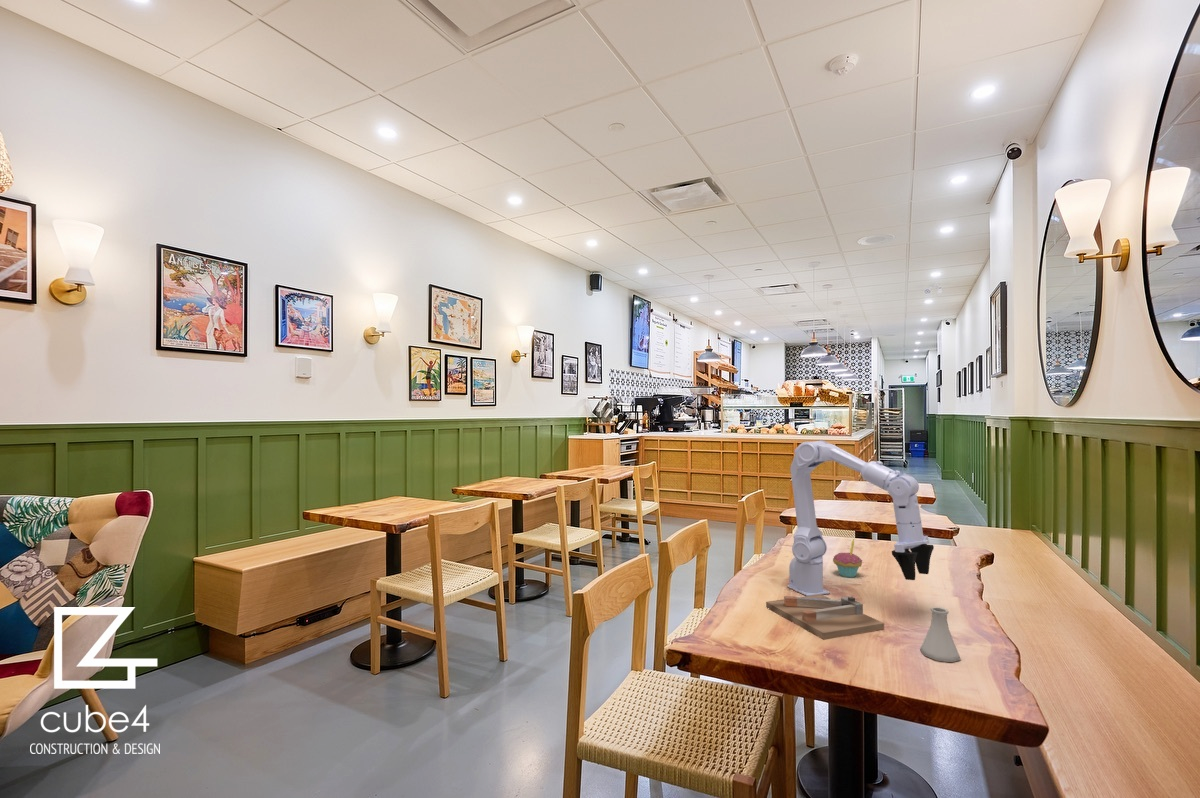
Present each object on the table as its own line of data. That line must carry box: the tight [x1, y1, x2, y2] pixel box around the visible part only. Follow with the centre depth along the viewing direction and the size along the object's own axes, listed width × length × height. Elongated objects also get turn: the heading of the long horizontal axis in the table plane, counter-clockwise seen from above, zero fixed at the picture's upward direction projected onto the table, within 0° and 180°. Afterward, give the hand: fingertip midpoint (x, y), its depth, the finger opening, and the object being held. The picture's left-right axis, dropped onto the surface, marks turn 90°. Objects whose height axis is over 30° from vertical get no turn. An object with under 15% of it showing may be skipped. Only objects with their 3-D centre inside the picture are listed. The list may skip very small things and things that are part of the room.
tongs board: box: [765, 594, 885, 640], centre depth 142 cm, size 22×18×5 cm
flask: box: [919, 606, 962, 663], centre depth 120 cm, size 7×7×10 cm
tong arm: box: [783, 595, 842, 608], centre depth 145 cm, size 14×2×2 cm, turn 79°
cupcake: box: [832, 538, 863, 578], centre depth 178 cm, size 9×8×12 cm
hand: (917, 576), depth 141 cm, fingers open, 7 cm apart
